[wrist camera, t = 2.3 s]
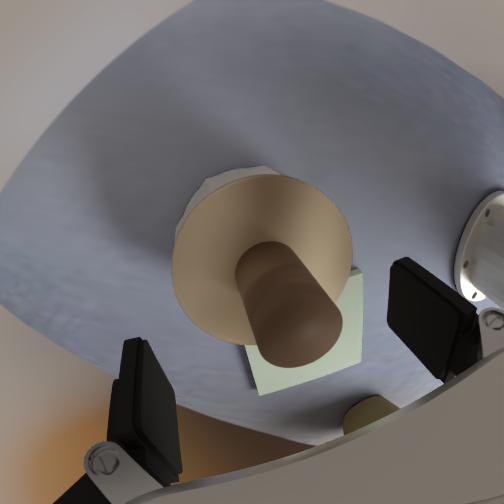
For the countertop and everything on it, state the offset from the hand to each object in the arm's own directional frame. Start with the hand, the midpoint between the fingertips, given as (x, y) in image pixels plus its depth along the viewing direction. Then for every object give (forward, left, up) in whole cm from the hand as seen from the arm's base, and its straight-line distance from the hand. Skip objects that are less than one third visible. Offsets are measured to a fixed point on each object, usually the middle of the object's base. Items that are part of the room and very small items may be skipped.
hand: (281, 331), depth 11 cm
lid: (-1, 0, -6) cm, 6 cm away
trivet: (-4, +10, -11) cm, 15 cm away
